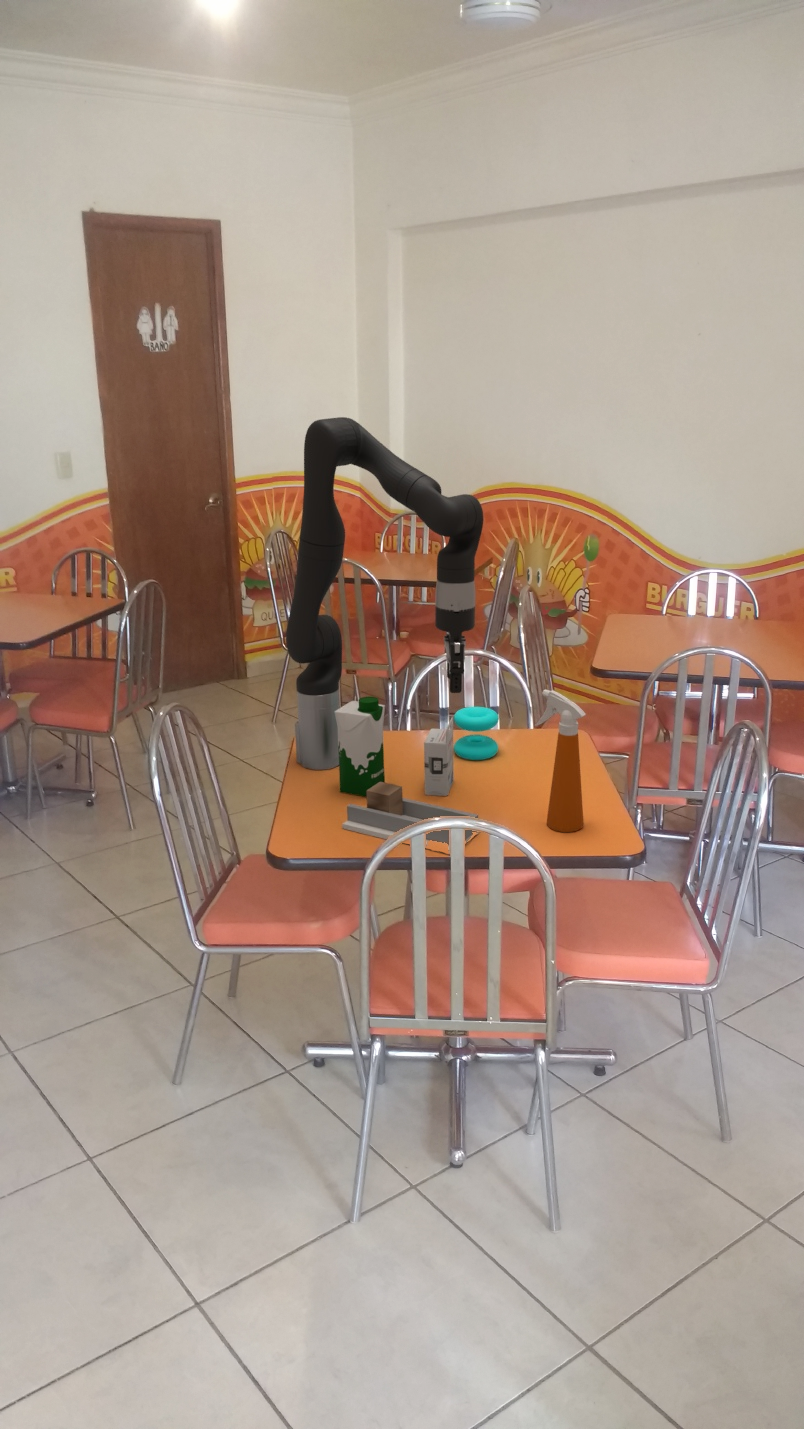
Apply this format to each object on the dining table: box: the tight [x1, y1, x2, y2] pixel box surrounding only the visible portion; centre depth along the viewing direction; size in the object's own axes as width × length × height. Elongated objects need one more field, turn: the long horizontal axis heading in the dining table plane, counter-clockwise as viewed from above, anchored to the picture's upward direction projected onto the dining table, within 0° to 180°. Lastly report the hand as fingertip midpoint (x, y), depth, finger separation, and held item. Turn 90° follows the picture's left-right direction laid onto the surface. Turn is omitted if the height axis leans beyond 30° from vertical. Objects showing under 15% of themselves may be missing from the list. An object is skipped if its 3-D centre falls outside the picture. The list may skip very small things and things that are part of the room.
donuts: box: [453, 706, 499, 761], centre depth 233 cm, size 10×10×10 cm
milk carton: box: [335, 696, 386, 798], centre depth 214 cm, size 9×9×20 cm
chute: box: [341, 797, 480, 851], centre depth 198 cm, size 24×12×4 cm, turn 59°
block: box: [366, 781, 404, 816], centre depth 200 cm, size 5×5×6 cm
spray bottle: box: [533, 689, 586, 833], centre depth 196 cm, size 7×11×26 cm, turn 50°
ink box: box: [423, 716, 454, 797], centre depth 215 cm, size 9×5×15 cm, turn 168°
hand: (454, 685), depth 201 cm, fingers open, 8 cm apart
